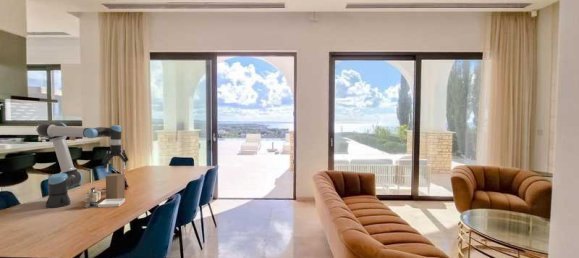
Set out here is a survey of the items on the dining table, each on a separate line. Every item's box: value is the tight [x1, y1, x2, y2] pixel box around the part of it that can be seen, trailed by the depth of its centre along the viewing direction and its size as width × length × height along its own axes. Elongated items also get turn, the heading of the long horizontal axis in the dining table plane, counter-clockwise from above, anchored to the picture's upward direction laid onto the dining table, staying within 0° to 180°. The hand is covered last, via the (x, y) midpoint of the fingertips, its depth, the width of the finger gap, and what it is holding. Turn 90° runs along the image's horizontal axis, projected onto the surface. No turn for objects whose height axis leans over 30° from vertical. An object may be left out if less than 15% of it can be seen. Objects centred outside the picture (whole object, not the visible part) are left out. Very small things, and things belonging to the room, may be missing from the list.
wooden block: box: [105, 173, 126, 199], centre depth 254 cm, size 10×10×20 cm
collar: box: [84, 191, 102, 203], centre depth 234 cm, size 8×10×6 cm
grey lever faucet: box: [83, 186, 100, 209], centre depth 234 cm, size 9×9×14 cm
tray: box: [97, 197, 126, 208], centre depth 239 cm, size 15×15×2 cm
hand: (115, 170), depth 246 cm, fingers open, 13 cm apart
